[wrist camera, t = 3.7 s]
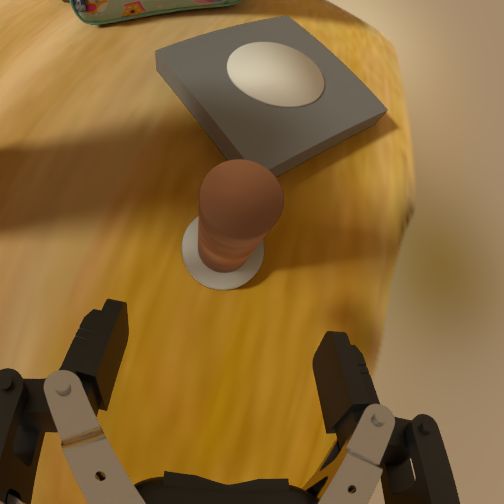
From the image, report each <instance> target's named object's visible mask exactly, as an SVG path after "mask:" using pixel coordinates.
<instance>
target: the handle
mask: <svg viewBox="0 0 504 504" xmlns="http://www.w3.org/2000/svg"><path fill="white" fill-rule="evenodd" d="M283 205H284V197H283V191H282V188H281V185H280V183H279V181H278V180H277V178H276V177H275V176H274V175H273V174H272V173H271V172H270V171H269V170H268V169H267V168H265V167H264V166H262V165H260V164H258V163H256V162H253V161H250V160H243V159H236V160H229V161H226V162H223V163H221V164H218V165H217V166H215V167H214V168H213V169H211V170H210V171H209V172H208V174H207V175H206V176H205V178H204V180H203V182H202V184H201V187H200V194H199V216H198V217H196V218H195V219H194V220H193V221H192V222H191V223H190V225H189V226H188V228H187V229H186V232H185V234H184V237H183V242H182V254H183V259H184V263H185V265H186V268H187V270H188V271H189V273H190V274H191V276H192V277H193V278H194V279H195V280H196V281H197V282H199V283H200V284H202V285H203V286H205V287H208V288H210V289H214V290H231V289H235V288H238V287H240V286H242V285H244V284H245V283H246V282H248V281H249V280H250V279H251V278H252V277H253V276H254V275H255V274H256V273H257V272H258V270H259V268H260V266H261V264H262V262H263V258H264V241H263V239H264V237H265V236H266V235H267V233H268V232H269V231H270V230H271V228H272V227H273V226H274V225H275V223H276V222H277V221H278V219H279V217H280V215H281V213H282V210H283Z"/></svg>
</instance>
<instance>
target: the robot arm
mask: <svg viewBox="0 0 504 504" xmlns="http://www.w3.org/2000/svg"><path fill="white" fill-rule="evenodd" d="M128 335H129V327H128V314H127V304H126V302H122V301H117V300H112V299H107V300H106V302H105V304H104V306H103V308H102V310H101V311H100V310H95V309H93V310H92V311H91V312H90V313H89V314H87V315H86V316H85V317H84V319H83V321H82V323H81V325H80V327H79V329H78V331H77V333H76V335H75V337H74V339H73V341H72V344H71V346H70V348H69V350H68V352H67V354H66V357H65V359H64V361H63V363H62V366H61V368H60V369H59V370H58V371H55V372H53V373H51V374H50V375H49V376H48V377H47V378H45V379H23V378H22V377H21V375H20V374H19V373H18V372H17V371H16V370H14V369H9V368H6V369H2V370H0V504H31V499H32V493H33V487H34V481H35V476H36V470H37V465H38V461H39V456H40V452H41V447H42V443H43V439H44V435H45V432H58V433H59V436H60V438H61V441H62V444H61V446H62V450H63V452H64V455H65V457H66V459H67V462H68V464H69V466H70V468H71V470H72V473H73V475H74V477H75V479H76V481H77V483H78V485H79V487H80V489H81V491H82V493H83V494H84V496H85V498H86V500H87V502H88V504H368V502H369V500H370V498H371V496H372V494H373V492H374V490H375V487H376V486H377V483H378V481H379V479H380V477H381V483H382V488H383V494H384V500H385V504H460V501H459V497H458V493H457V489H456V485H455V481H454V478H453V474H452V470H451V467H450V463H449V460H448V456H447V453H446V450H445V447H444V443H443V440H442V437H441V434H440V431H439V428H438V425H437V423H436V422H435V420H434V419H433V418H432V417H430V416H428V415H425V414H420V415H417V416H416V417H415V418H414V419H413V420H406V419H402V418H397V417H394V415H393V414H392V412H391V411H390V410H389V409H388V408H387V407H385V406H383V405H381V404H380V403H379V400H378V397H377V394H376V391H375V388H374V385H373V382H372V379H371V377H370V374H369V371H368V368H367V366H366V363H365V360H364V357H363V354H362V353H361V352H360V351H359V349H358V348H357V347H356V346H355V345H351V344H350V341H349V338H348V336H347V334H346V333H345V332H334V331H327V332H326V334H325V335H324V337H323V339H322V341H321V343H320V345H319V347H318V349H317V351H316V353H315V355H314V358H313V371H314V376H315V381H316V385H317V390H318V395H319V400H320V404H321V409H322V414H323V419H324V424H325V429H326V434H329V433H336V435H337V439H336V440H335V441H334V443H333V445H332V446H331V448H330V450H329V451H328V453H327V455H326V456H325V458H324V460H323V461H322V463H321V464H320V466H319V468H318V469H317V471H316V472H315V474H314V475H313V476H312V477H311V478H310V479H309V481H308V482H307V483H306V484H305V485H304V487H303V488H302V489H301V488H298V487H295V486H292V485H289V482H288V479H257V480H252V481H248V482H243V483H238V484H232V485H225V484H222V483H218V482H215V481H211V480H208V479H205V478H202V477H199V476H196V475H188V474H181V473H174V472H167V471H164V477H155V478H150V479H146V480H143V481H141V482H138V483H136V484H135V485H133V483H132V482H131V480H130V478H129V477H128V475H127V473H126V472H125V470H124V468H123V467H122V465H121V463H120V462H119V460H118V458H117V456H116V454H115V453H114V451H113V449H112V447H111V445H110V443H109V441H108V440H107V438H106V436H105V434H104V432H103V430H102V428H101V426H100V424H99V422H98V420H97V418H96V417H97V413H98V410H99V409H101V410H105V411H107V409H108V405H109V401H110V398H111V394H112V391H113V387H114V384H115V380H116V377H117V374H118V370H119V367H120V364H121V361H122V358H123V354H124V351H125V348H126V345H127V341H128ZM410 458H411V459H412V463H413V467H414V472H415V476H416V479H414V475H413V471H412V466H411V462H410Z"/></svg>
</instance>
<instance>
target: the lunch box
mask: <svg viewBox="0 0 504 504" xmlns="http://www.w3.org/2000/svg"><path fill="white" fill-rule="evenodd" d="M241 1H243V0H70V4H71V6H72V8H73V10H74V12H75V14H76V15H77V16H78V18H79V19H80V20H81V21H83V22H85V23H87V24H91V25H100V24H107V23H114V22H119V21H125V20H130V19H135V18H141V17H146V16H151V15H157V14H164V13H170V12H175V11H182V10H191V9H203V8H211V7H223V6H230V5H234V4H237V3H239V2H241Z"/></svg>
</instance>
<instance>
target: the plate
mask: <svg viewBox="0 0 504 504" xmlns="http://www.w3.org/2000/svg"><path fill="white" fill-rule="evenodd" d="M155 55H156V68H157V71H158V73H159V74H160V75H161V76H162V77H163V79H164V80H165V81H166V82H167V84H168V85H169V86H170V87H171V89H172V90H173V91H174V92H175V94H176V95H177V96H178V97H179V99H180V100H181V101H182V102H183V104H184V105H185V106H186V107H187V109H188V110H189V111H190V113H191V114H192V115H193V116H194V118H195V119H196V120H197V121H198V123H199V124H200V125H201V127H202V128H203V129H204V130H205V132H206V133H207V134H208V136H209V137H210V138H211V140H212V141H213V142H214V143H215V145H216V146H217V147H218V149H219V150H220V151H221V153H222V154H223V155H224V157H225V158H226V159H227V160H228V161H229V160H236V159H243V160H250V161H253V162H256V163H258V164H260V165H262V166H264V167H265V168H267V169H268V170H269V171H270V172H271V173H272V174H273V175H274V176H275V177H277V176H279V175H281V174H283V173H284V172H286V171H288V170H290V169H292V168H293V167H295V166H297V165H299V164H301V163H302V162H304V161H306V160H308V159H310V158H312V157H313V156H315V155H317V154H319V153H321V152H323V151H325V150H326V149H328V148H330V147H332V146H334V145H336V144H338V143H340V142H342V141H343V140H345V139H347V138H349V137H351V136H353V135H355V134H357V133H359V132H361V131H363V130H365V129H367V128H369V127H371V126H373V125H375V124H376V123H377V122H378V121H379V119H380V118H381V117H382V116H383V115H384V114H385V113H386V111H387V110H388V109H387V108H386V107H385V106H384V105H383V104H382V103H381V102H380V100H379V99H378V98H377V97H376V96H375V95H374V94H373V93H372V92H371V91H370V90H369V89H368V87H367V86H366V85H365V84H364V83H363V82H362V81H361V80H360V79H359V78H358V77H357V76H356V75H355V74H354V73H353V72H352V71H351V70H350V69H349V68H348V67H347V66H346V65H345V64H344V63H342V62H341V61H340V60H339V59H338V58H337V57H336V56H335V55H334V54H333V53H332V52H331V51H330V50H328V49H327V48H326V47H325V46H324V45H323V44H322V43H320V42H319V41H318V40H317V39H316V38H315V37H313V36H312V35H311V34H310V33H309V32H307V31H306V30H305V29H304V28H303V27H301V26H300V25H299V24H298V23H296V22H295V21H294V20H292V19H291V18H290V17H289V16H281V17H275V18H270V19H264V20H259V21H254V22H250V23H245V24H241V25H236V26H232V27H228V28H224V29H221V30H217V31H213V32H210V33H206V34H203V35H200V36H196V37H193V38H190V39H187V40H184V41H181V42H178V43H175V44H172V45H170V46H167V47H164V48H162V49H159V50H156V51H155Z"/></svg>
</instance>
